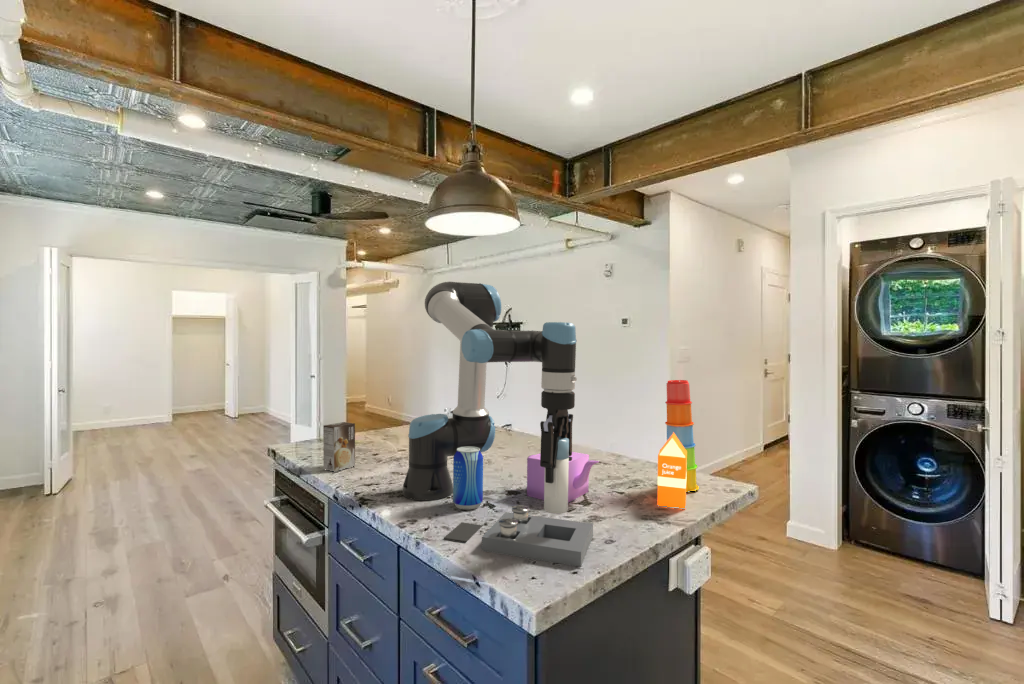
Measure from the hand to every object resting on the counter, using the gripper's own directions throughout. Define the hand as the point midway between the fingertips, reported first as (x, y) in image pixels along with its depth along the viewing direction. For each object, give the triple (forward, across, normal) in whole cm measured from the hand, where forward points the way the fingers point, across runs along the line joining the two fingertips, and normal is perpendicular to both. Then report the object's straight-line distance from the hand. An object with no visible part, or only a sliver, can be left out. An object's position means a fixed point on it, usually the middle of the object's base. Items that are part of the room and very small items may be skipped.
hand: (556, 492), depth 107 cm
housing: (+12, -1, +4) cm, 13 cm away
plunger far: (+11, +2, +10) cm, 15 cm away
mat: (+13, -4, +20) cm, 24 cm away
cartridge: (+4, 0, 0) cm, 4 cm away
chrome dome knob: (+11, -6, +9) cm, 15 cm away
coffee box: (+14, +21, +94) cm, 97 cm away
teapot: (+13, +35, +13) cm, 40 cm away
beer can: (+13, +13, +32) cm, 37 cm away
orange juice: (+13, +44, -18) cm, 49 cm away
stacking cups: (+13, +60, -18) cm, 64 cm away
